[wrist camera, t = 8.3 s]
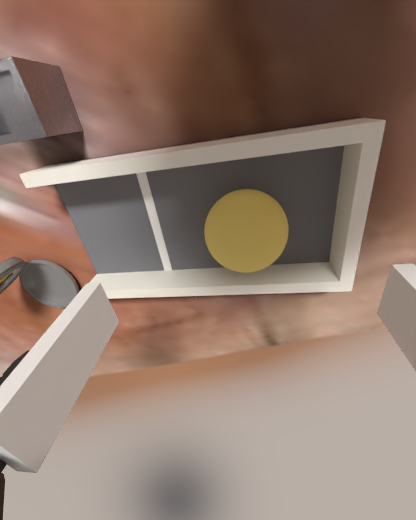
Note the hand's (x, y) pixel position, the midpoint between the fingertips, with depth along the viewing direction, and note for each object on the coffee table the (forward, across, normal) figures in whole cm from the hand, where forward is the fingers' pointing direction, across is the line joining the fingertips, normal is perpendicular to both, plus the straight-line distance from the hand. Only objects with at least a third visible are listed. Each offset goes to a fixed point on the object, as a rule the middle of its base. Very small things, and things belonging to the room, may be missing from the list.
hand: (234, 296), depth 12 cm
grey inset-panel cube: (+11, -13, +10) cm, 20 cm away
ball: (+10, +1, 0) cm, 10 cm away
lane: (+11, -3, 0) cm, 12 cm away
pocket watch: (+12, -22, -5) cm, 26 cm away
